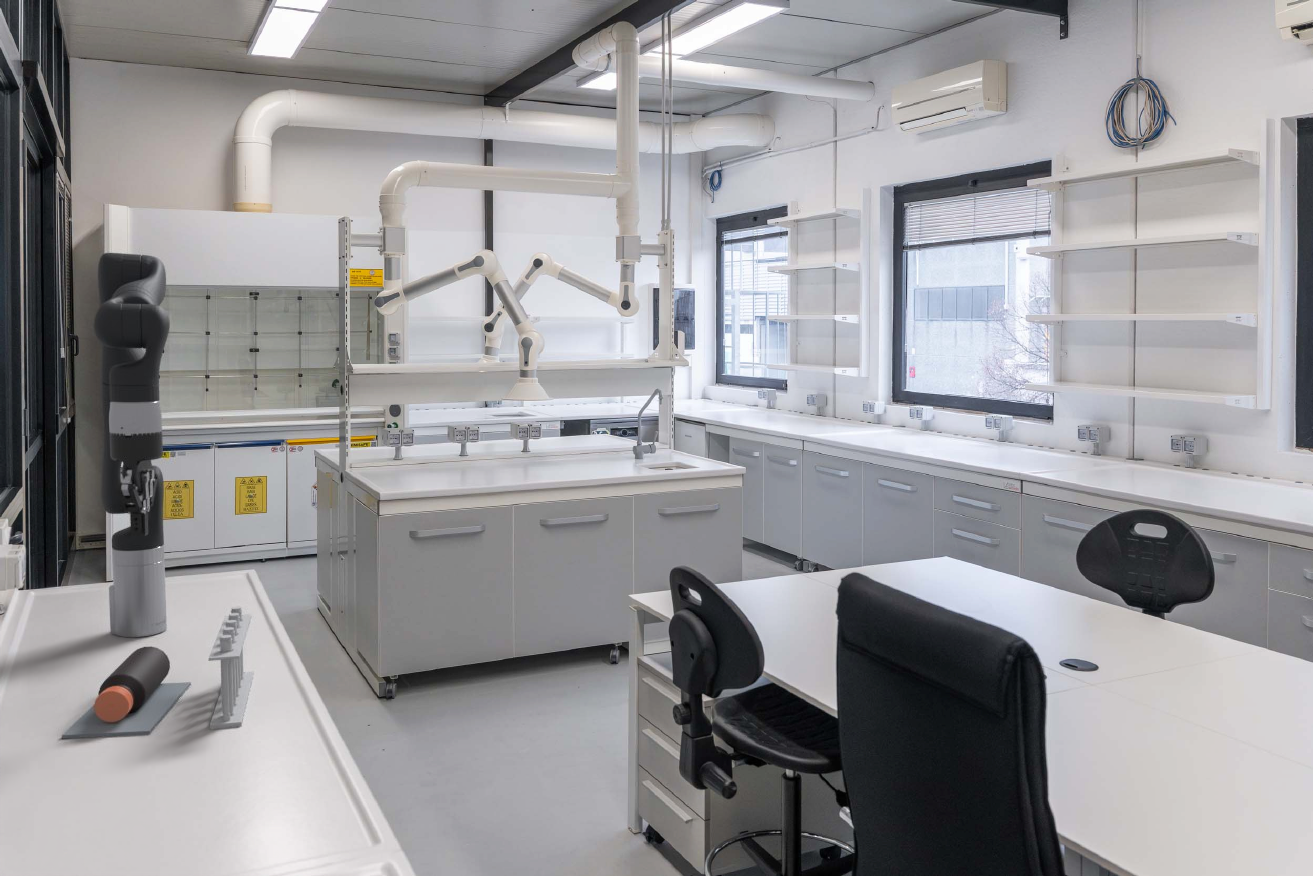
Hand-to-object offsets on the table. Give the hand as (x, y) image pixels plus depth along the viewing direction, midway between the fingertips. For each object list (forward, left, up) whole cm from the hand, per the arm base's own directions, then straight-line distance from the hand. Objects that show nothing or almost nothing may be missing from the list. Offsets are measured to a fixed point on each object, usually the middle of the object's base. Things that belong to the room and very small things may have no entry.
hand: (139, 536), depth 164 cm
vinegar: (-3, +5, -23) cm, 24 cm away
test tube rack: (+15, +1, -27) cm, 31 cm away
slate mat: (+2, -6, -27) cm, 27 cm away
